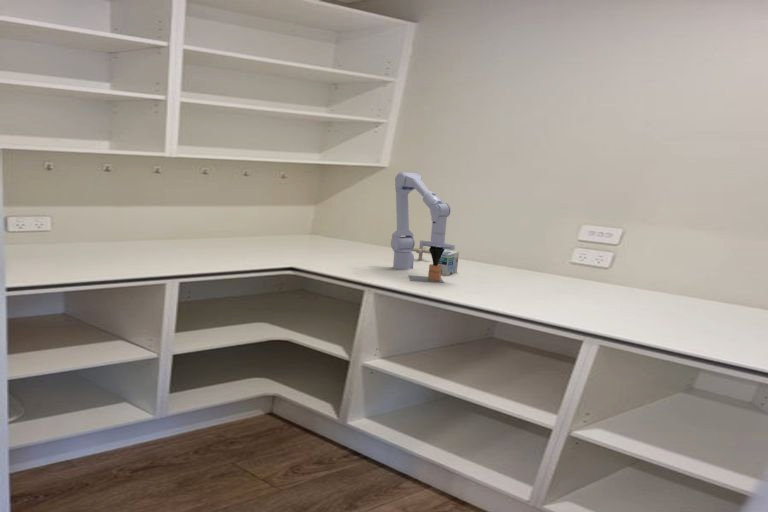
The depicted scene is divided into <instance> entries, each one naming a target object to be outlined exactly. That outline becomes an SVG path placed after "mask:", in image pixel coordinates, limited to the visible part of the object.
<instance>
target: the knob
mask: <svg viewBox="0 0 768 512" xmlns="http://www.w3.org/2000/svg"><path fill="white" fill-rule="evenodd" d="M441 276H442V275H441V265H433V263H431V264H429V267H428V274H427V277H428V279H429V280H432V281H439V280H440V278H442V277H441Z"/></svg>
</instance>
